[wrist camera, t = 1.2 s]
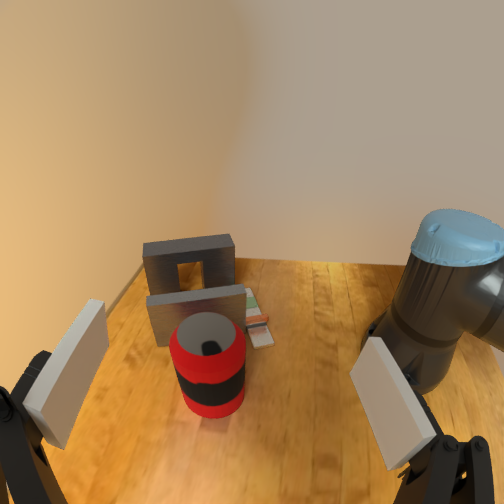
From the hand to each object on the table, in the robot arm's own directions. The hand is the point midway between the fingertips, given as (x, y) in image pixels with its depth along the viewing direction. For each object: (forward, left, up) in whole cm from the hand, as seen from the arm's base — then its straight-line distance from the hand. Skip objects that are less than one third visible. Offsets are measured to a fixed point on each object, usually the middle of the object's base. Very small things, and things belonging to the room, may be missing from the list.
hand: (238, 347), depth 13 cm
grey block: (-1, -23, -22) cm, 31 cm away
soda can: (+1, -10, -22) cm, 24 cm away
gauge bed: (-1, -24, -22) cm, 33 cm away
